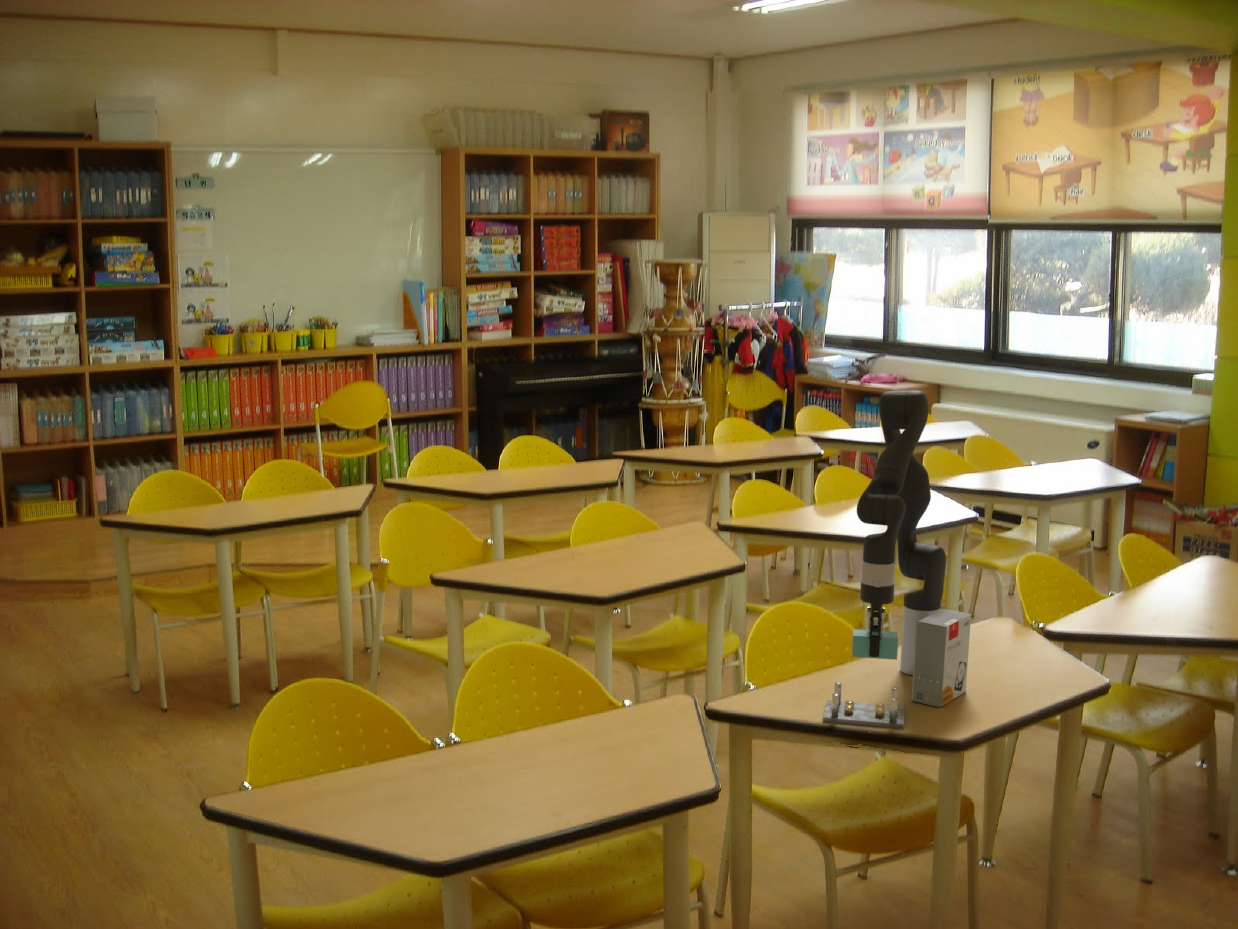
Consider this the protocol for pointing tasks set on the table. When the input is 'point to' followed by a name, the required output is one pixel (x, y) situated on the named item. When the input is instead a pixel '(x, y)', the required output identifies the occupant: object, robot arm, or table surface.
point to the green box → (886, 648)
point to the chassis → (864, 711)
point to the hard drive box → (941, 657)
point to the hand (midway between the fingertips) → (874, 652)
